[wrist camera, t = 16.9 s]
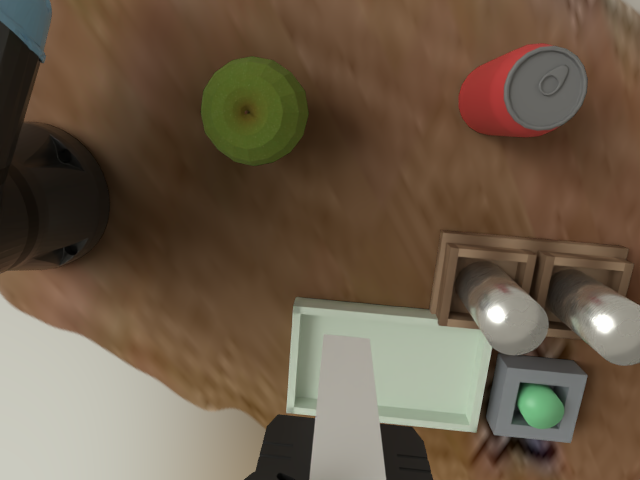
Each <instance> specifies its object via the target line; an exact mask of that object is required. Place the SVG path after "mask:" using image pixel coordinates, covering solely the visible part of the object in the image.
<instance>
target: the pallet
mask: <svg viewBox="0 0 640 480" xmlns="http://www.w3.org/2000/svg"><path fill="white" fill-rule="evenodd" d="M628 250H629V249H628V248H626V247H623V246H619V245H607V244H595V243H584V242H572V241H561V240H549V239H537V238H526V237H514V236H503V235H491V234H479V233H468V232H456V231H445V230H441V232H440V239H439V246H438V253H437V260H436V266H435V273H434V280H433V287H432V294H431V301H430V307H429V310H430V312H431V314H436V316H437V319H438V325H439V326H447V327H458V328H468V329H479V327H478V325H477V324H476V322H475V321H474V319H473V318H472V316H471V315H470V313H469V312H468V310H467V308H466V307H465V305H464V304H463V302H462V301H461V299H460V298H459V296H458V294H457V291H456V280H457V277H458V275H459V273H460V272H461V271H462V269H463V268H465V267H466V266H467V265H469V264H471V263H473V262H477V261H488V262H492V263H494V264H496V265H497V266H498V267H500V268H501V269H502V270H503V271H504V272H505V273H506V274H507V275H508V276H509V277H510V278H511V279H512V280H514V281H515V282H516V283H517V284H518V285H519V286H520V287H521V288H522V289H523V290H524V291H525V292H526V293H527V294H528V295H530V296H531V297H532V298H533V299H534V300H535V301H536V302H537V303H538V304H539V305H540V306H541V307H542V308H543V309H544V311H545V312H546V314H547V317H548V322H549V327H548V332H547V335H546V337H557V338H567V339H578V340H583V339H582V338H580V337H579V336H578V335H577V334H576V333H575V332H574V331H572V330H571V329H570V328H569V327H568V326H567V325H565V324H564V323H563V322H562V321H561V320H560V319H559V318H557V317H556V316H555V315H554V314H553V313H552V312H550V311H549V310H548V309H547V308H546V306H545V302H546V297H547V293H548V288H549V284H550V279H551V276H552V275H554V274H555V273H557V272H559V271H562V270H566V269H575V270H579V271H582V272H583V273H585V274H587V275H589V276H590V277H592V278H594V279H595V280H597V281H599V282H600V283H602V284H604V285H606V286H607V287H609V288H611V289H612V290H614V291H616V292H617V293H619V294H621V295H623V296H624V297H626V294H627V290H628V286H629V282H630V278H631V275H632V271H633V267H634V263H631V262H629V261H627V260H626V258H627V254H628ZM479 330H480V329H479Z"/></svg>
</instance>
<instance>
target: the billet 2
mask: <svg viewBox="0 0 640 480" xmlns="http://www.w3.org/2000/svg"><path fill="white" fill-rule="evenodd" d="M545 306H546V308H547V309H548V310H549V311H550V312H552V313H553V314H554V315H555V316H556V317H557V318H559V319H560V320H561V321H562V322H563V323H564V324H565V325H567V326H568V327H569V328H570V329H571V330H572V331H574V332H575V333H576V334H577V335H578V336H579V337H580V338H582V339H583V340H584V341H585V342H586V343H587V344H589V345H590V346H591V347H592V348H593V349H594V350H595V351H597V352H598V353H599V354H600V355H601V356H602V357H603V358H605V359H606V360H607V361H609V362H611V363H613V364H617V365H633V364H637V363H640V305H638V304H636V303H635V302H633V301H631V300H629V299H628V298H626V297H624V296H623V295H621V294H619V293H617V292H616V291H614V290H612V289H611V288H609V287H607V286H606V285H604V284H602V283H600V282H599V281H597V280H595V279H594V278H592V277H590V276H589V275H587V274H585V273H583V272H582V271H579V270H575V269H566V270H562V271H559V272H557V273H555V274H554V275H552V276H551V279H550V284H549V288H548V293H547V297H546V302H545Z"/></svg>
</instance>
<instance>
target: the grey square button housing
mask: <svg viewBox="0 0 640 480" xmlns="http://www.w3.org/2000/svg"><path fill="white" fill-rule="evenodd" d="M587 376H588V375H587V374H586V373H585V372H584V371H583V370H582V369H581V368H580V367H579V366H578V365H577V364H576V363H575V362H574V361H573V360H563V359H553V358H543V357H533V356H522V355H506V354H502V353H498V356H497V362H496V367H495V372H494V377H493V382H492V388H491V393H490V398H489V403H488V408H487V414H486V419H487V421H488V423H489V425H490V427H491V429H492V431H493V434H494V435H500V436H509V437H519V438H528V439H538V440H548V441H557V442H567V443H571V440H572V436H573V432H574V428H575V424H576V420H577V416H578V412H579V408H580V404H581V400H582V396H583V392H584V388H585V384H586V380H587ZM521 382H524V383H534V384H544V385H549V386H550V388H551V389H552V390H553V392H554V393H555V394H556V395H557V397H558V398H559V399H560V401H561V402H562V403H563V406H564V415H563V418H562V419H561V421H560V422H559V423H558V424H556V425H555V426H553V427H551V428H547V429H538V428H534V427H532V426H530V425H529V424H528V423H527V422H526V420H525V419H524V417H523V415H522V414H521V412H520V410H519V409H518V407H517V405H516V404H515V403H516V398H517V393H518V388H519V383H521Z"/></svg>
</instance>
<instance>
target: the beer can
mask: <svg viewBox="0 0 640 480" xmlns="http://www.w3.org/2000/svg"><path fill="white" fill-rule="evenodd" d="M587 80H588V79H587V75H586V71H585V68H584V65H583V64H582V63H581V61H580V60H579V58H578V57H577V56H576V55H575V54H573V53H572V52H570V51H569V50H567V49H565V48H561V47H557V46H552V45H548V44H543V43H541V44H530V45H525V46H523V47H521V48H518V49H516V50H514V51H512V52H509V53H507V54H505V55H503V56H501V57H498V58H496V59H494V60H492V61H490V62H487V63H485V64H483V65H481V66H479V67H477V68H476V69H475V70H474V71H472V72H471V73H470V74H469V75H468V77H467V78H466V80H465V81H464V83H463V84H462V87H461V90H460V93H459V110H460V113H461V116H462V118H463V120H464V121H465V122H466V124H467V125H468V126H469V127H470V128H472V129H473V130H475V131H476V132H478V133H482V134H486V135H496V136H511V137H536V136H541V135H543V134H546V133H548V132H551V131H553V130H555V129H557V128H558V127H559V126H561V125H563V124H564V123H566V122H567V121H568V120H570V119H571V118H572V117H574V115H575V114H576V113H577V111H578V110H579V108H580V107H581V106H582V104H583V101H584V98H585V96H586V93H587Z"/></svg>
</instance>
